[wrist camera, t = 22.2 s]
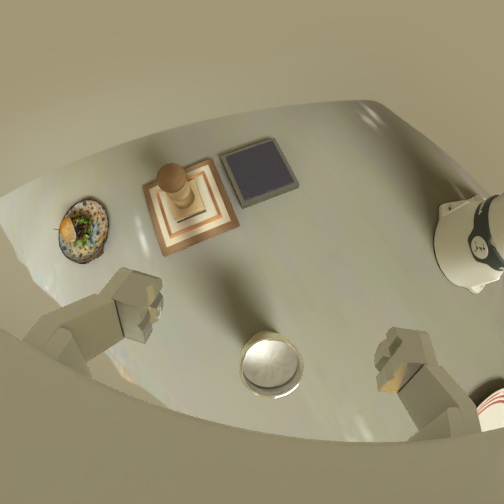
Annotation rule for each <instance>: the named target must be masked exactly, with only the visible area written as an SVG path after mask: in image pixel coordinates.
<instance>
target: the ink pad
mask: <svg viewBox="0 0 504 504" xmlns="http://www.w3.org/2000/svg"><path fill="white" fill-rule="evenodd" d="M221 160H222V162H223V165H224V167H225V169H226V172H227V174H228V176H229V179H230V181H231V183H232V186H233V188H234V190H235V192H236V195H237V197H238V199H239V202H240V204H241V206H242V209H244V208H246V207H249V206H252V205H254V204H257V203H259V202H262V201H265V200H267V199H270V198H273V197H275V196H278V195H281V194H283V193H286V192H289V191H291V190H294V189H297V188H298V187H299V183H298V181H297V179H296V177H295V175H294V173H293V171H292V169H291V167H290V165H289V163H288V162H287V160H286V158H285V156H284V154H283V152H282V151H281V149H280V147H279V145H278V143H277V141H276V140H275V138H272V139H269V140H266V141H262V142H259V143H256V144H253V145H251V146H248V147H245V148H242V149H239V150H236V151H233V152H231V153H228V154H225V155H222V156H221Z"/></svg>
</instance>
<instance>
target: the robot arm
mask: <svg viewBox="0 0 504 504" xmlns="http://www.w3.org/2000/svg"><path fill="white" fill-rule="evenodd" d="M448 208H449V209H448ZM434 246H435V253H436V257H437V261H438V263H439V266H440V268H441V270H442V272H443V273H444V274H445V276H446V277H447V278H448V279H449V280H450V281H451V282H452V283H454V284H456V285H458V286H463V287H466V288H468V289H469V290H470V291H471V292H472V293H474V294H476V293H479V292H480V291H481V290H482V288H483V287H484V286H485V284H487V283H490V282H493V281H496V280H498V279H500V276H501V275H502V273H503V271H504V193H502V194H501V195H495V196H491V197H489V198H487V199H485V198H484V197H483V195H482V194H478V195H475V196H474V197H472V198H470V199H468V200H462V201H456V202H450V203H444V204H442V205H440V207H439V222H438V225H437V228H436V232H435V238H434ZM161 289H162V279H160V278H159V277H155V276H152V275H148V274H145V273H142V272H139V271H134V270H131V269H128V268H125V267H123V268H120V269H119V270H118V271H117V272H116V274H115V275H114V276H113V277H112V278H111V280H110V281H109V282H108V283H107V284H106V286H105V287H104V288H103V289H102V291H101V292H100V293H99V294H98V295H97V294H93V295H91V296H88V297H86V298H83V299H81V300H79V301H76V302H74V303H71V304H69V305H67V306H64V307H62V308H60V309H57V310H55V311H53V312H50V313H48V314H46V315H43V316H41V318H40V319H39V320H38V321H37V323H36V324H35V325H34V326H33V327H32V329H31V330H30V331H29V333H28V334H27V335H26V336H25V338H24V339H23V340H21V339H19V338H18V337H16V336H15V335H13V334H12V333H10V332H9V331H7V330H6V329H4V328H3V327H2V326H0V504H504V427H502V428H498V429H494V430H489V431H484V432H482V431H481V426H480V421H479V417H478V413H477V409H476V405H475V404H474V403H473V401H472V400H471V399H470V398H469V397H468V395H467V394H466V393H465V392H464V391H463V390H462V388H461V387H460V386H459V385H458V384H457V383H456V382H455V380H454V379H453V378H452V377H451V376H450V375H449V374H448V373H447V371H446V370H445V369H444V368H443V367H442V366H439V365H438V362H437V359H436V356H435V352H434V349H433V346H432V343H431V340H430V337H429V334H428V333H427V332H426V331H418V330H409V329H402V328H395V327H392V328H390V329H389V330H388V332H387V333H386V337H387V339H386V340H384V341H382V342H380V344H379V346H378V347H377V349H376V353H375V359H374V362H375V367H376V368H377V370H378V371H379V373H378V375H377V376H376V378H377V386H378V391H379V392H389V393H398V394H397V395H398V397H399V398H400V400H401V401H402V403H403V405H404V406H405V408H406V410H407V411H408V413H409V415H410V416H411V418H412V420H413V421H414V423H415V425H416V426H417V428H418V430H419V431H418V432H417V433H415V434H414V435H413V436H411V437H410V438H409V441H407V442H342V441H327V440H315V439H305V438H297V437H289V436H282V435H275V434H269V433H263V432H258V431H252V430H247V429H242V428H237V427H233V426H228V425H224V424H220V423H216V422H212V421H208V420H204V419H201V418H197V417H193V416H190V415H186V414H183V413H180V412H177V411H173V410H170V409H167V408H164V407H161V406H158V405H155V404H152V403H149V402H147V401H144V400H141V399H139V398H136V397H134V396H131V395H128V394H126V393H124V392H121V391H119V390H116V389H114V388H112V387H109V386H107V385H105V384H102V383H100V382H98V381H96V380H94V379H92V374H91V372H90V370H89V368H88V366H87V364H86V362H88V361H89V360H91V359H93V358H94V357H96V356H97V355H99V354H100V353H102V352H103V351H105V350H107V349H108V348H110V347H111V346H113V345H114V344H116V343H117V342H119V341H121V340H122V339H124V337H125V338H128V339H131V340H134V341H137V342H140V343H144V344H145V343H146V341H147V339H148V338H149V336H150V334H151V332H152V324H153V323H155V322H157V321H158V319H159V317H160V315H161V312H162V309H163V296H162V294H161V293H160V290H161Z"/></svg>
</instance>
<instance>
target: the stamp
mask: <svg viewBox="0 0 504 504" xmlns="http://www.w3.org/2000/svg"><path fill="white" fill-rule="evenodd" d="M157 183H158V186H159V187H160V189H161V190H163V191H164V192H165V193H166V196H167V199H168V202H169V206H170V209H171V212H172V215H173V218H174V220H175V221H176V222H177V223H180V222H182V221H185V220H187V219H189V218H192V217H194V216H197V215H199V214H202V213H204V212H207V211H206V209H205V206H204V203H203V201H202V198H201V195H200V193H199V190H198V187H197V185H196V183H195V181H194V180H191V181H189V182H188V181H187V179H186V173H185V171H184V169H183V168H182V167H181V166H180V165H178V164H174V163H170V164H167V165H164V166H163V167H162V168H161V169H160V170H159V172H158V174H157Z"/></svg>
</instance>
